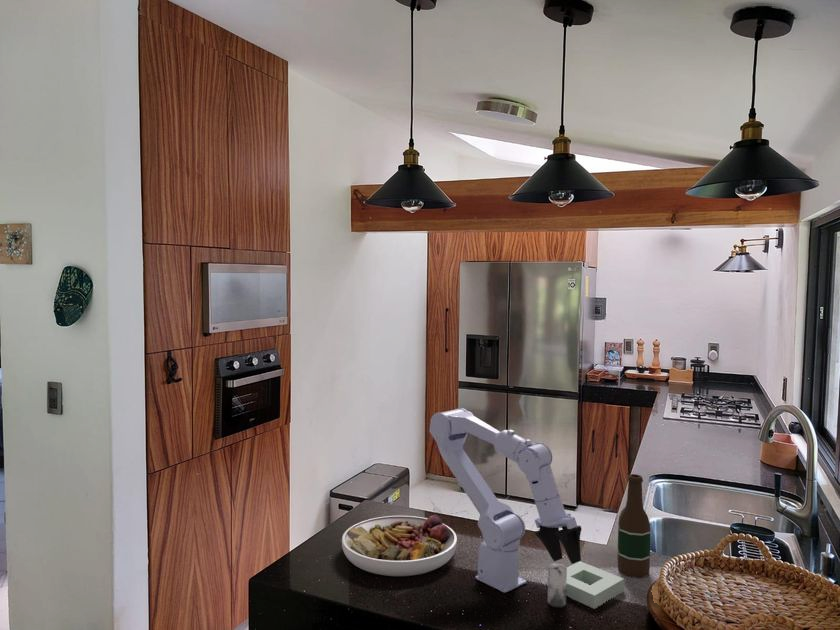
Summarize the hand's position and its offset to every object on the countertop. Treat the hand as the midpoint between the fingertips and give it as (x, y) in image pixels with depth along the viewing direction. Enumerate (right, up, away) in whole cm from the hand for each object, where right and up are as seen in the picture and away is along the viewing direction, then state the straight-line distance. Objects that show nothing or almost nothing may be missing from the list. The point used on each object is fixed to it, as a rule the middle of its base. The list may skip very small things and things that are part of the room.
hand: (566, 561), depth 134 cm
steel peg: (-2, -10, +3) cm, 11 cm away
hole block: (+7, -10, +8) cm, 15 cm away
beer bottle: (+21, -10, +18) cm, 29 cm away
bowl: (-38, -9, +27) cm, 47 cm away
